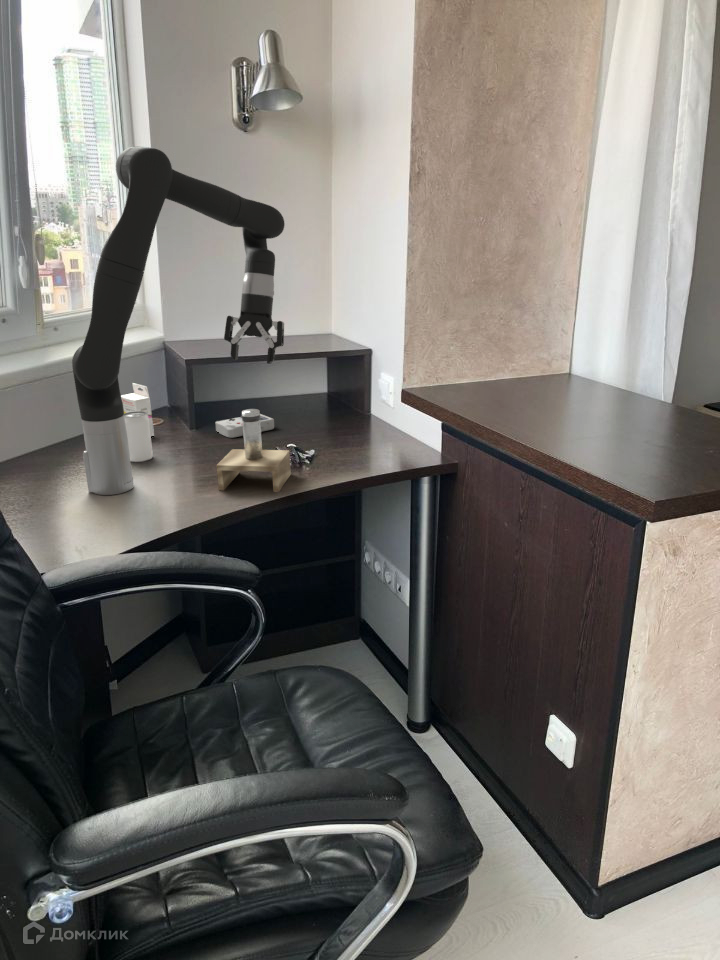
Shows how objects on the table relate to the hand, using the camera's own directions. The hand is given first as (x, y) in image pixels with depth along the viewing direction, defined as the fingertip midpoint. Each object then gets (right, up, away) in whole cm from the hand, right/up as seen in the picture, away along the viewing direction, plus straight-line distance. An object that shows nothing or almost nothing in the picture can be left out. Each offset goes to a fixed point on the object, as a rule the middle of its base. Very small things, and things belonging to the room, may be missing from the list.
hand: (252, 361), depth 184 cm
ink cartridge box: (-37, -17, +31) cm, 51 cm away
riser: (+2, -29, -8) cm, 30 cm away
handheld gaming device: (-7, -15, +34) cm, 38 cm away
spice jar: (+2, -24, -10) cm, 26 cm away
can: (-31, -24, +11) cm, 40 cm away
